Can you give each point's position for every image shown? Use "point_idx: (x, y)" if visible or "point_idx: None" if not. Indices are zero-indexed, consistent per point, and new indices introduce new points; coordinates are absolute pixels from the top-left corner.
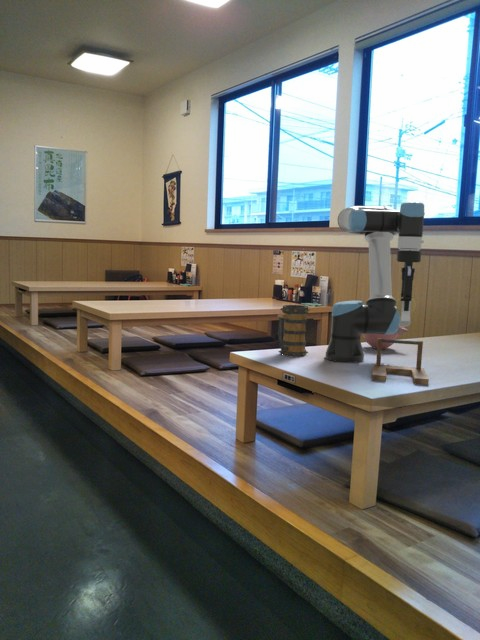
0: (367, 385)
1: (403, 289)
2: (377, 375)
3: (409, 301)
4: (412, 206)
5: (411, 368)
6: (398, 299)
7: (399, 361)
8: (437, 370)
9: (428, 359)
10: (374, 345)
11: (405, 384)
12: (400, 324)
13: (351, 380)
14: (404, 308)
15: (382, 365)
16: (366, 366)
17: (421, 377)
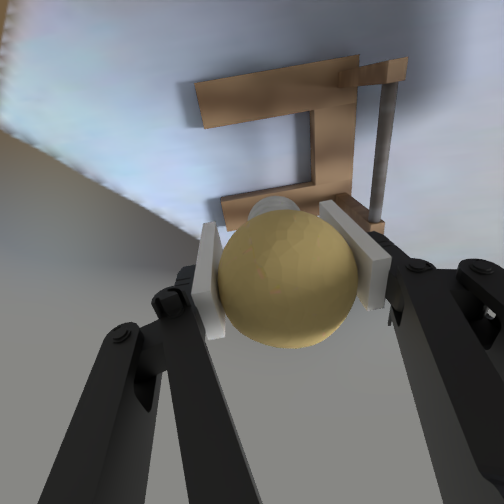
0: (126, 80)
1: (206, 385)
2: (198, 101)
3: (206, 332)
4: None
5: (333, 182)
6: (279, 256)
7: (489, 127)
8: (389, 228)
9: None
10: None
11: (205, 179)
12: (254, 205)
13: (155, 8)
14: (177, 278)
15: (347, 93)
16: (395, 24)
17: (237, 215)
